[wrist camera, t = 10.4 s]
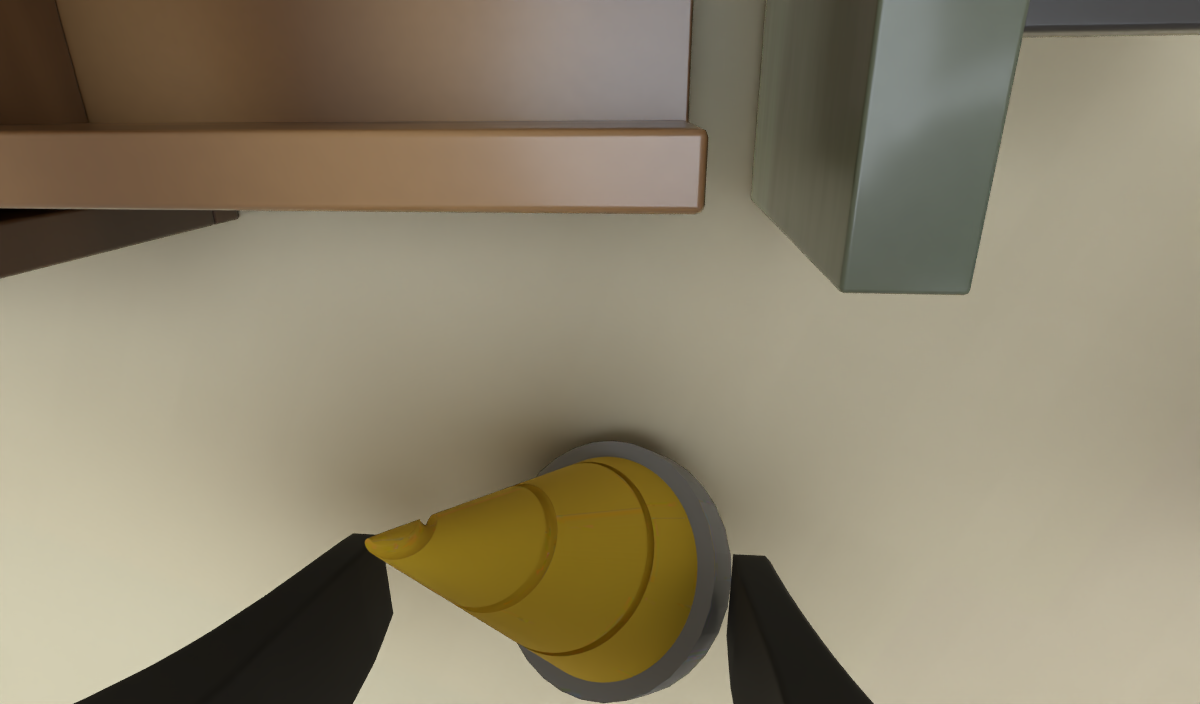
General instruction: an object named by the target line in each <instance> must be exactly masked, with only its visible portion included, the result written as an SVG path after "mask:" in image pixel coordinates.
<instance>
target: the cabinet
mask: <svg viewBox="0 0 1200 704" xmlns="http://www.w3.org/2000/svg"><path fill="white" fill-rule="evenodd" d="M237 218H238V215H237V210H129V209H11V208H0V278H4V277H8V276H12V275H16V274H20V273H24V272H28V271H32V270H36V269H40V268H44V267H48V266H52V265H56V264H60V263H64V262H68V261H72V260H76V259H80V258H84V257H88V256H92V255H96V254H100V253H104V252H108V251H112V250H115V249H119V248H123V247H127V246H131V245H135V244H139V243H143V242H147V241H151V240H155V239H159V238H163V237H167V236H171V235H175V234H179V233H183V232H187V231H191V230H195V229H199V228H203V227H207V226H211V225H213V224H219V223H223V222H227V221H231V220H235V219H237Z"/></svg>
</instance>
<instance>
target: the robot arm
mask: <svg viewBox="0 0 1200 704" xmlns="http://www.w3.org/2000/svg"><path fill="white" fill-rule="evenodd" d="M372 536H375V535H370V534H352V535H350V536H349V537H347V538H345V539H344V540H342V541H341V542H340V543H338V544H337V545H335V546H334V547H332V548H331V549H330V550H328V551H327V552H325V553H324V554H323V555H321V556H320V557H319V558H317V559H316V560H314V561H313V562H312V563H310V564H309V565H308V566H306V567H305V568H303V569H302V570H301V571H299V572H298V573H296V574H295V575H294V576H292V577H291V578H289V579H288V580H287V581H285V582H284V583H282V584H281V585H280V586H278V587H277V588H275V589H274V590H272V591H271V592H270V593H268V594H267V595H265V596H264V597H262V598H261V599H259V600H258V601H256V602H255V603H253V604H252V605H250V606H249V607H247V608H246V609H244V610H243V611H241V612H240V613H238V614H237V615H235V616H234V617H232V618H231V619H229V620H228V621H226V622H225V623H223V624H221V625H220V626H218V627H217V628H215V629H214V630H212V631H211V632H209V633H207V634H206V635H204V636H202V637H201V638H199V639H197V640H196V641H194V642H192V643H191V644H189V645H187V646H185V647H184V648H182V649H180V650H178V651H177V652H175V653H173V654H171V655H169V656H168V657H166V658H164V659H162V660H161V661H159V662H157V663H155V664H153V665H151V666H150V667H148V668H146V669H144V670H142V671H140V672H138V673H136V674H134V675H132V676H130V677H128V678H126V679H124V680H122V681H120V682H118V683H116V684H114V685H112V686H110V687H108V688H105V689H103V690H101V691H99V692H97V693H95V694H93V695H91V696H89V697H87V698H85V699H83V700H81V701H79V702H76V703H74V704H353V702H354V700H355V698H356V697H357V695H358V693H359V691H360V689H361V687H362V685H363V683H364V681H365V679H366V678H367V676H368V674H369V672H370V670H371V668H372V666H373V664H374V662H375V660H376V657H377V655H378V652H379V650H380V647H381V645H382V642H383V640H384V637H385V634H386V632H387V629H388V626H389V623H390V621H391V618H392V615H393V609H392V602H391V596H390V589H389V583H388V576H387V570H386V563H385V562H384V561H383V560H381V559H380V558H378V557H376V556H375V555H373V554H372V553H371V552H369V551H368V549H367V548H366V546H365V540H366V539H367V538H370V537H372ZM727 648H728V661H729V674H730V686H731V692H732V698H733V703H734V704H874V703H873V702H872V701H871V700H870V699H869V698H868V697H867V696H866V694H865V693H864V692H863V691H862V690H861V689H860V688H859V686H858V685H857V684H856V683H855V682H854V681H853V679H852V678H851V677H850V676H849V674H848V673H847V672H846V671H845V670H844V668H843V667H842V666H841V665H840V663H839V662H838V661H837V660H836V658H835V657H834V656H833V655H832V653H831V652H830V651H829V649H828V648H827V647H826V645H825V644H824V643H823V641H822V640H821V639H820V637H819V636H818V635H817V633H816V632H815V630H814V629H813V628H812V626H811V625H810V623H809V622H808V621H807V619H806V618H805V616H804V615H803V614H802V612H801V611H800V609H799V608H798V606H797V605H796V603H795V602H794V600H793V599H792V597H791V595H790V594H789V592H788V591H787V589H786V588H785V586H784V584H783V583H782V581H781V580H780V578H779V576H778V575H777V573H776V571H775V569H774V568H773V566H772V564H771V562H770V561H769V560H768V559H767V558H766V557H765V556H755V555H737V554H733V565H732V577H731V589H730V601H729V612H728V624H727Z"/></svg>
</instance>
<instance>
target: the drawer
mask: <svg viewBox="0 0 1200 704" xmlns="http://www.w3.org/2000/svg"><path fill="white" fill-rule="evenodd" d="M692 23H693V0H0V208H11V209H129V210H248V211H367V212H486V213H604V214H697V213H700V212H702V210H703V208H704V206H705V189H706V170H707V151H708V135H707V132H706V130H704V129H702V128H700V127H697V126H695V125H693V124H691V123H689V122H688V120H689V96H690V72H691V47H692ZM1151 35H1200V0H766V9H765V22H764V35H763V48H762V61H761V74H760V87H759V100H758V113H757V126H756V139H755V152H754V165H753V178H752V191H751V200H752V201H753V202H754V203H755V204H756V205H757V206H758V207H759V208H760V209H761V210H762V211H763V212H764V213H765V215H766V216H767V217H768V218H769V219H770V220H771V221H772V222H773V223H774V224H775V225H776V226H777V227H778V228H779V229H780V230H781V231H782V232H783V233H784V234H785V235H786V236H787V237H788V238H789V239H790V240H791V241H792V242H793V243H794V244H795V245H796V246H797V247H798V248H799V250H800V251H801V252H802V253H803V254H804V255H805V256H806V257H807V258H808V259H809V260H810V261H811V262H812V263H813V264H814V265H815V266H816V267H817V268H818V269H819V270H820V271H821V272H822V273H823V274H824V275H825V276H826V277H827V278H828V279H829V280H830V281H831V282H832V284H833V285H834V286H835V287H836V288H837V289H838V290H839V291H841V292H843V293H882V294H934V295H965V294H968V293H969V291H970V287H971V282H972V278H973V273H974V268H975V263H976V258H977V253H978V249H979V244H980V239H981V234H982V229H983V225H984V220H985V215H986V210H987V205H988V201H989V196H990V191H991V186H992V181H993V176H994V172H995V167H996V162H997V157H998V152H999V148H1000V143H1001V138H1002V133H1003V128H1004V123H1005V119H1006V114H1007V109H1008V104H1009V99H1010V95H1011V90H1012V85H1013V80H1014V75H1015V70H1016V66H1017V61H1018V56H1019V51H1020V46H1021V42H1022V38H1026V37H1089V36H1151Z"/></svg>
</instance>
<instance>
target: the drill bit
mask: <svg viewBox="0 0 1200 704" xmlns="http://www.w3.org/2000/svg"><path fill="white" fill-rule="evenodd" d="M365 546H366V548H367V549H368V551H369V552H371V553H372V554H373V555H375V556H376V557H378V558H380V559H381V560H383V561H384V562H386V563H388V564H389V565H391V566H393V567H394V568H396V569H398V570H399V571H401V572H402V573H404V574H406V575H407V576H409V577H411V578H412V579H414V580H415V581H417V582H419V583H420V584H422V585H424V586H425V587H427V588H428V589H430V590H432V591H433V592H435V593H437V594H438V595H440V596H442V597H443V598H445V599H446V600H448V601H450V602H452V603H453V604H455V605H456V606H458V607H459V608H461V609H463V610H464V611H466V612H468V613H469V614H471V615H473V616H474V617H476V618H477V619H479V620H481V621H482V622H484V623H486V624H487V625H489V626H490V627H492V628H494V629H495V630H497V631H499V632H500V633H502V634H504V635H505V636H507V637H508V638H510V639H512V640H513V641H515V642H517V644H518V645H519V647H520V649H521V650H522V652H523V654H524V655H525V657H526V659H527V660H528V662H529V663H530V664H531V665H532V666H533V667H534V668H535V669H536V670H537V672H538V673H539V674H540V675H541V676H542V677H543V678H544V679H545V680H547V681H548V682H550V683H551V684H552V685H554V686H555V687H556V688H558V689H559V690H560V691H562V692H565V693H567V694H569V695H572V696H574V697H577V698H579V699H581V700H587V701H594V702H600V703H609V702H619V701H627V700H631V699H634V698H638V697H642V696H645V695H649V694H651V693H654V692H657V691H659V690H662V689H665V688H667V687H670V686H671V685H672V684H674V683H675V682H677V681H678V680H680V679H681V678H683V677H684V676H686V675H687V674H689V672H690V671H691V670H692V669H693V668H694V667H695V666H696V665H697V664H698V663H699V662H700V661H701V659H702V658H703V657H704V656H705V655H706V653H707V652H708V650H709V648H710V647H711V645H712V643H713V641H714V640H715V638H716V636H717V635H718V633H719V630H720V627H721V624H722V622H723V619H724V616H725V613H726V610H727V607H728V600H729V594H730V587H731V554H730V549H729V545H728V540H727V535H726V530H725V527H724V525H723V523H722V520H721V518H720V515H719V513H718V510H717V508H716V506H715V504H714V503H713V501H712V500H711V498H710V496H709V495H708V493H707V492H706V490H705V489H704V487H703V486H702V485H701V484H700V483H699V482H698V481H697V480H696V479H695V478H694V477H693V476H692V475H691V474H690V473H689V472H688V471H687V470H686V469H684V468H683V467H681V466H680V465H678V464H677V463H675V462H674V461H672V460H671V459H669V458H667V457H664V456H662V455H660V454H657V453H655V452H652V451H650V450H647V449H645V448H642V447H640V446H637V445H634V444H631V443H624V442H617V441H604V442H593V443H590V444H586V445H583V446H580V447H577V448H574V449H572V450H570V451H568V452H567V453H565V454H563V455H561V456H559V457H558V458H556V459H555V460H554V461H552V462H551V463H550V464H549V465H548V466H547V467H545V468H544V469H543V470H542V471H541V472H540V473H539V474H538V475H537V477H536V478H533V479H530V480H528V481H525V482H522V483H519V484H516V485H514V486H511V487H508V488H505V489H502V490H500V491H497V492H494V493H491V494H488V495H486V496H483V497H480V498H477V499H474V500H472V501H469V502H466V503H463V504H461V505H458V506H455V507H452V508H449V509H447V510H444V511H441V512H438V513H435V514H433V515H431V517H430V518H429V519H428V522H427V524H426V525H424V524H423V523H422V522H421V521H420V519H419V520H416V521H413V522H410V523H408V524H405V525H402V526H399V527H396V528H394V529H391V530H388V531H385V532H383V533H380V534H377V535H375V536H372V537H370V538H367V539H366V540H365Z"/></svg>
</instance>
